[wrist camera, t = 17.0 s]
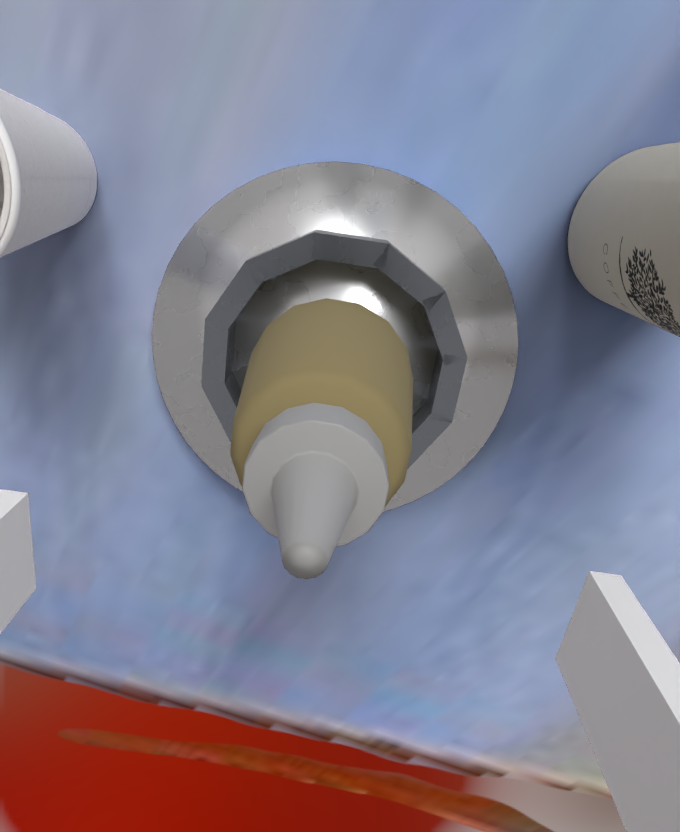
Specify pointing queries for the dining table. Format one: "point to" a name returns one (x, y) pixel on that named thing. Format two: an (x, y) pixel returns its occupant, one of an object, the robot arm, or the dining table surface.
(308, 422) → the squeeze bottle
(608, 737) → the robot arm
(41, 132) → the dixie cup
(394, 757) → the dining table surface
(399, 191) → the rosette plate
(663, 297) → the travel mug
